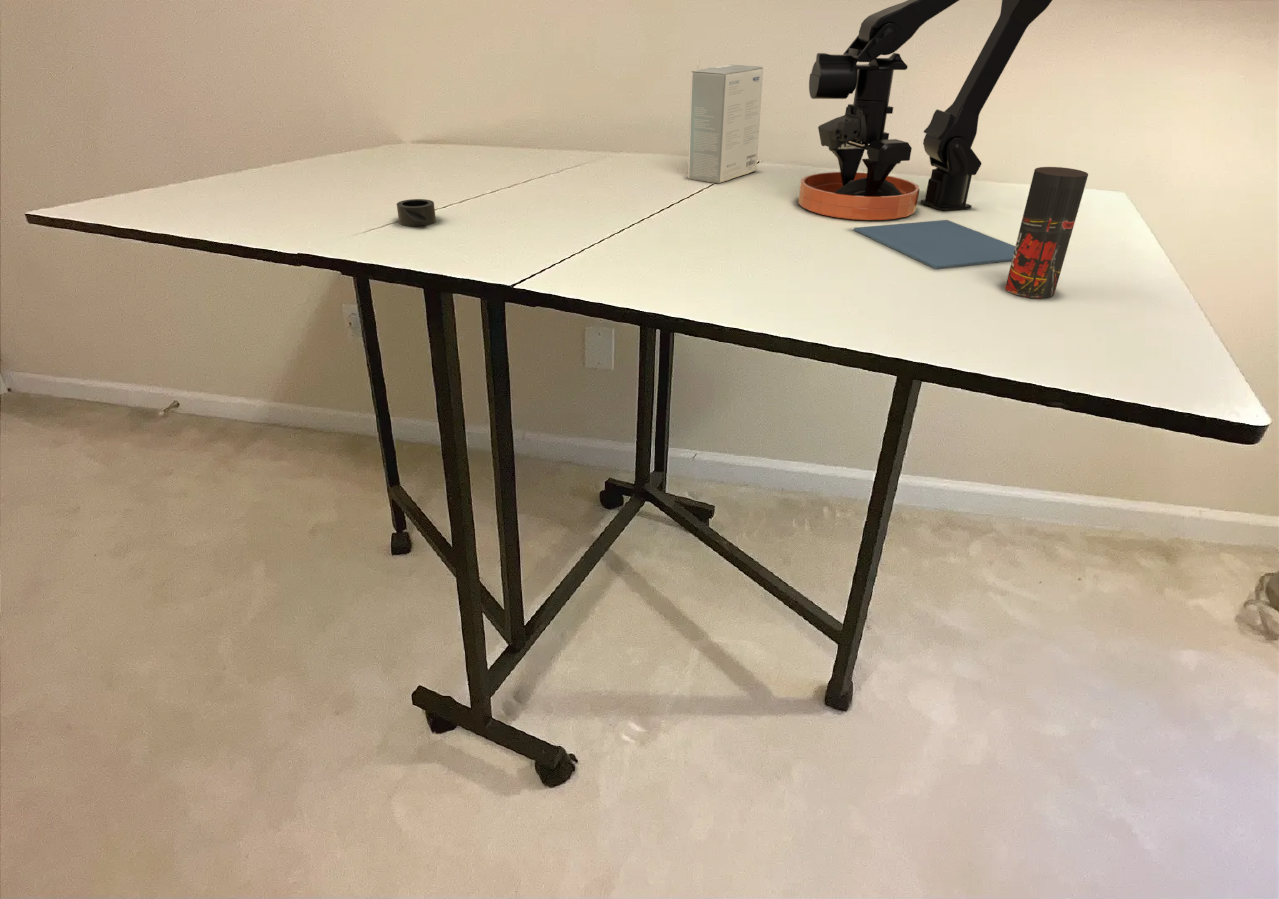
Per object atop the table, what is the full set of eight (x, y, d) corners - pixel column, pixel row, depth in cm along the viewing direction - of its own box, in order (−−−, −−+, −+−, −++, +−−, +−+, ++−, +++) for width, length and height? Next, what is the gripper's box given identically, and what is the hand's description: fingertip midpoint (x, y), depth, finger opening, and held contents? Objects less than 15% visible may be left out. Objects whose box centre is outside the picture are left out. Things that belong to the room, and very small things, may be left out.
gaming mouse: (818, 191, 147) (822, 169, 145) (902, 199, 144) (907, 176, 142) (816, 200, 142) (820, 177, 140) (903, 208, 139) (908, 185, 137)
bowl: (872, 190, 154) (876, 169, 152) (939, 216, 138) (944, 192, 136) (778, 197, 149) (780, 175, 147) (836, 225, 132) (839, 200, 130)
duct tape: (380, 227, 127) (377, 209, 125) (409, 212, 135) (407, 194, 134) (425, 231, 125) (423, 212, 124) (452, 215, 134) (450, 197, 132)
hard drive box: (725, 166, 172) (732, 63, 162) (757, 171, 169) (766, 66, 159) (686, 178, 161) (690, 69, 151) (718, 184, 158) (725, 72, 148)
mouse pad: (946, 222, 135) (947, 219, 135) (1038, 258, 118) (1039, 255, 118) (853, 230, 130) (853, 227, 130) (935, 268, 113) (936, 266, 112)
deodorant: (996, 284, 107) (1025, 166, 100) (1039, 283, 108) (1071, 166, 100) (1018, 299, 102) (1050, 176, 95) (1063, 298, 103) (1098, 176, 95)
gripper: (801, 93, 140) (791, 186, 147) (860, 107, 124) (846, 210, 132) (856, 92, 143) (844, 182, 151) (921, 105, 128) (903, 206, 136)
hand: (857, 194), depth 142 cm, fingers closed on gaming mouse, 7 cm apart
